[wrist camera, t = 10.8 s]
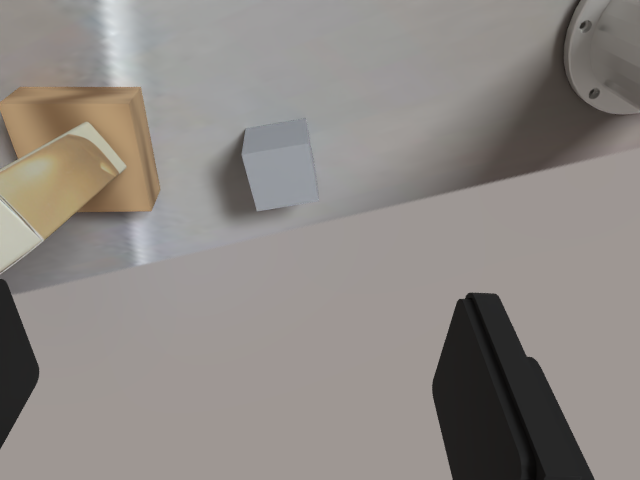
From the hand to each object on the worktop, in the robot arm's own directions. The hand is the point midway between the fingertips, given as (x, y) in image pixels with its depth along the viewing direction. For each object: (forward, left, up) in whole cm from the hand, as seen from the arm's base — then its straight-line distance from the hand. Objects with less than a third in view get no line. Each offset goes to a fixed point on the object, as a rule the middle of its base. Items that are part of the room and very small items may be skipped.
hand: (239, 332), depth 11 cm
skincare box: (+14, +11, -27) cm, 32 cm away
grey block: (-1, +10, -31) cm, 33 cm away
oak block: (+14, +11, -32) cm, 36 cm away
